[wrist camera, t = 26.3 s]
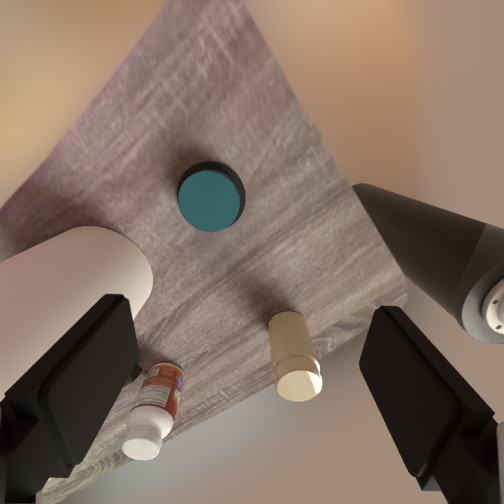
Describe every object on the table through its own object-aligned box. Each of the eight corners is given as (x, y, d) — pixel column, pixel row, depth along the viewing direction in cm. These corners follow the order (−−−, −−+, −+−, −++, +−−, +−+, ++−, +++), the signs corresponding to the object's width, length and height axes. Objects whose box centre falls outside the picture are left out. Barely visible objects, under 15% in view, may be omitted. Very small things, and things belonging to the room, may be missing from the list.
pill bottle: (181, 390, 42) (160, 467, 32) (146, 382, 41) (113, 459, 31) (189, 365, 40) (168, 440, 30) (151, 357, 39) (117, 431, 29)
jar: (307, 310, 36) (327, 368, 26) (304, 340, 38) (322, 403, 29) (268, 311, 36) (274, 368, 26) (267, 341, 38) (273, 403, 29)
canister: (71, 316, 36) (-115, 497, 17) (31, 229, 30) (-304, 360, 12) (162, 311, 35) (69, 489, 17) (138, 222, 30) (-38, 344, 12)
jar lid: (230, 232, 30) (229, 239, 28) (178, 216, 29) (172, 222, 27) (247, 180, 28) (247, 182, 25) (190, 160, 27) (185, 161, 25)
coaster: (246, 163, 27) (246, 163, 27) (244, 230, 30) (244, 232, 30) (175, 159, 27) (174, 160, 27) (180, 228, 30) (179, 229, 30)
